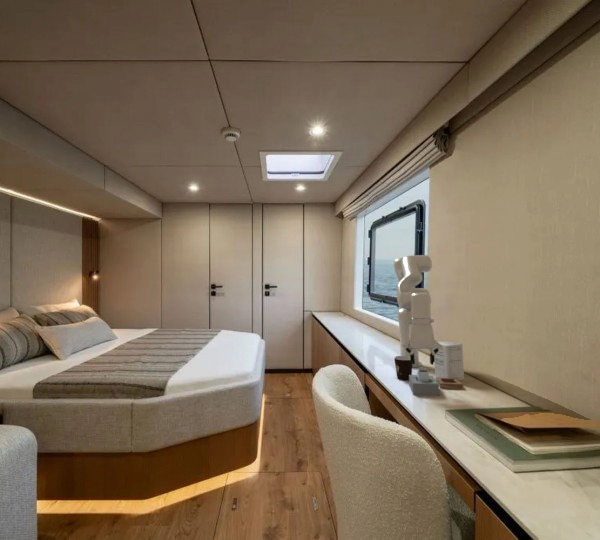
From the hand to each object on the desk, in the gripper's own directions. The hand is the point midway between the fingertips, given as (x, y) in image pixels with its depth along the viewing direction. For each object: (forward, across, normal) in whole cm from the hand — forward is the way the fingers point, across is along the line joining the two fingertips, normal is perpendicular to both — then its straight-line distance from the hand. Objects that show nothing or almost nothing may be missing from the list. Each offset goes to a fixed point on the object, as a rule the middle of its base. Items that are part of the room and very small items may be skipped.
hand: (422, 363), depth 136 cm
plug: (+11, 0, 0) cm, 11 cm away
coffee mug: (+12, +6, -18) cm, 22 cm away
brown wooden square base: (+12, -12, -8) cm, 19 cm away
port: (+12, 0, 0) cm, 12 cm away
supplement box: (+12, -15, -20) cm, 28 cm away
